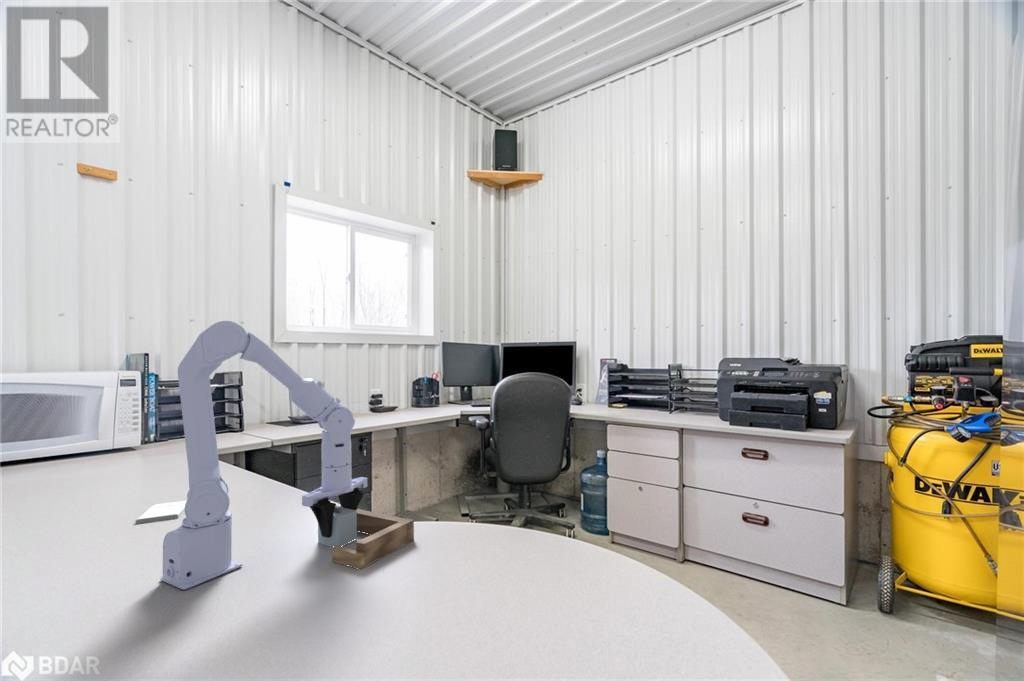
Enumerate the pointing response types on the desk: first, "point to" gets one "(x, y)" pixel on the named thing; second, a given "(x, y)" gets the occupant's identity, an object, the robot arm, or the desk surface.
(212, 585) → the desk surface
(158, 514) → the external hard drive
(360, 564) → the wooden frame
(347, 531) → the cabinet block
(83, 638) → the desk surface
